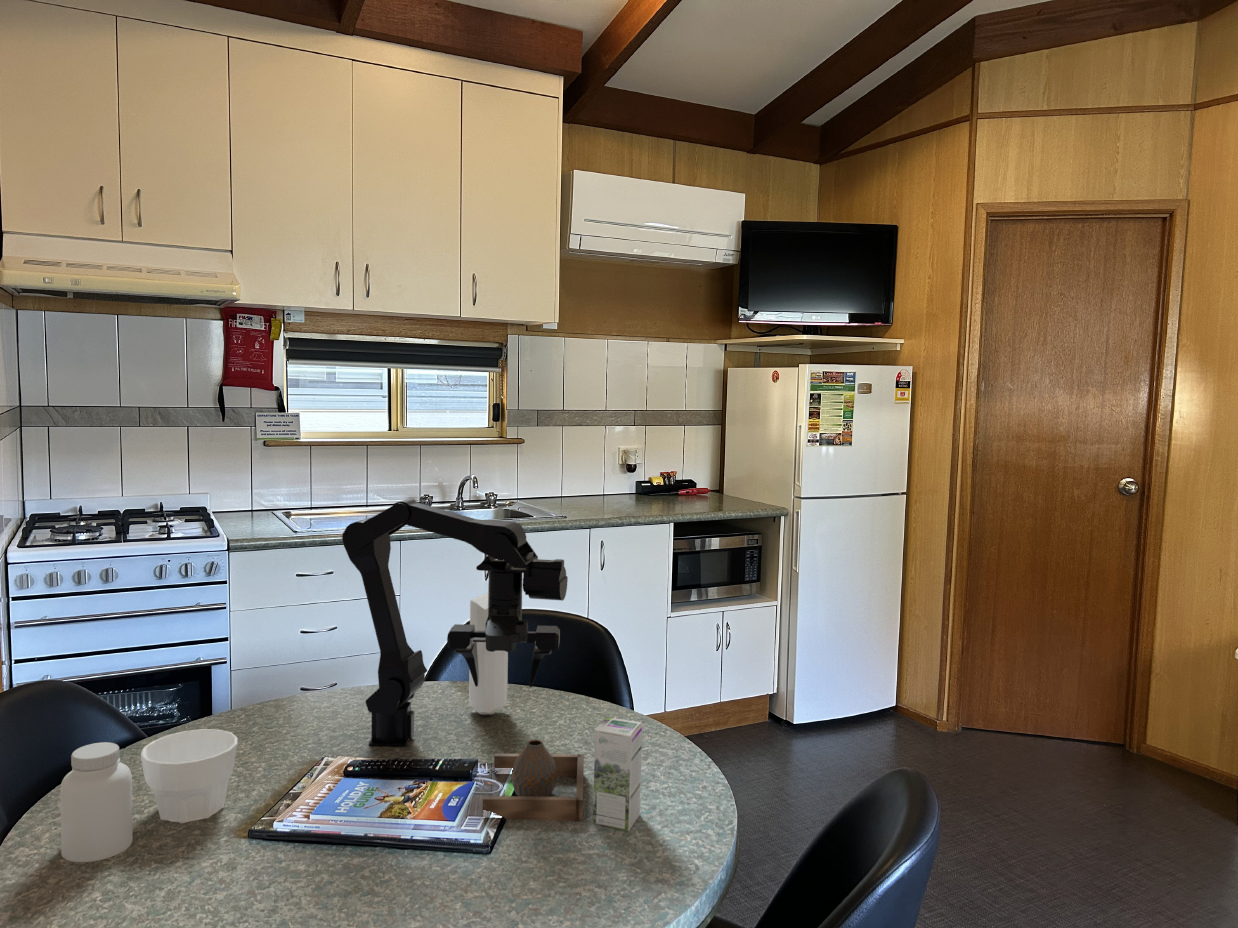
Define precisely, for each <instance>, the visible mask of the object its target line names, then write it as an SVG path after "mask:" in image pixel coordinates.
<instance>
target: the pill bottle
mask: <svg viewBox="0 0 1238 928" xmlns="http://www.w3.org/2000/svg"><path fill="white" fill-rule="evenodd" d="M70 758H71V759H70V760H71V761H70V762H71V768H72V769H71V771H70V772H68V773H67V774H66V775H65V776H64V778H62V781H61V784H60V790H59V791H60V794H59V796H60V798H59V799H60V843H61V844H60V846H61V848H60V849H61V850H60V851H61V853H60V854H61V857H62V858H63V859H65V860H66V861H69V862H73V863H91V862H96V861H97V862H98V861H101V860H105V859H109V858H111V857H112V858H113V857H114V856H117V855H119V854H122V852H124V851H126V850H127V849H128V848H129V847H131V845H132V843H133V775H132V772H131V769H130V768H129V766H128V765H126V764H125V763H122V762H121V758H120V746H119V745H118V744H116V743H115V742H106V741H105V742H96V743H90V744H86V745H84V746H80V747H79V748H76V749H75V750H74V751H72V754H71V756H70Z"/></svg>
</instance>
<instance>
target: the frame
mask: <svg viewBox="0 0 1238 928" xmlns="http://www.w3.org/2000/svg"><path fill="white" fill-rule="evenodd" d="M550 754H551V756H552V757H553V759H554V761H555V764H556V769H557V778H558V777H559V778H576V793H575V794H576V796H549V797H530V796H518V795H515V796H514V795H512V796H511V795H508V796H507V795H506V796H502V795H498V796H497V795H492V796H491V795H483V796H482V811H483V810H486V811H491V812H493V813H496V814H497V815H500V816H503V817H504V818H505V819H504V820H519V821H520V820H525V821H526V820H527V821H528V820H529V821H551V822H552V821H554V822H555V821H556V822H583V821H584V819H583V816H584V815H583V811H584V809H583V808H584V773H585V771H584V770H585V769H584V768H585V767H584V766H585V763H584V762H585V761H584V760H585V754H581V753H580V754H578V753H577V754H573V753H571V754H569V753H568V754H567V753H564V754H563V753H561V754H558V753H550ZM519 755H520V753H494V756H493V768H494V767H495V768H513V766H514V763H515V761H516V759H517V757H518V756H519Z"/></svg>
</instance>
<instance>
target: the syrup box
mask: <svg viewBox="0 0 1238 928" xmlns="http://www.w3.org/2000/svg"><path fill="white" fill-rule="evenodd" d="M593 750H594V753H593V754H594V755H593V757H594V758H593V794H592V795H593V797H592V798H593V799H592V800H593V802H592V805H593V806H592V824H593V825H598V826H602V827H607V828H612V829H616V830H621V831H626V832H629V831H630V830H631V828H632V827H633V826H634V824H635V822H636V821H637V819H638V818H639V817H640V816H641V815H640V814H641V783H642V782H641V779H642V774H641V773H642V755H643V754H642V751H643V722H641V721H640V722H639V721H635V720H628V719H621V718H615V717H605V719H603V720H602V721H601V722H600V723H599V724H598V725H597V727H596V728H595V729H594V749H593Z"/></svg>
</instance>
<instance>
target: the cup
mask: <svg viewBox="0 0 1238 928" xmlns="http://www.w3.org/2000/svg"><path fill="white" fill-rule="evenodd" d="M238 740H239V738H238V737H237V736H236V735H235V734H233V732H231V731H227V730H222V729H211V728H209V729H208V728H201V729H192V730H191V729H190V730H184V731H179V732H176V733H175V732H174V733H171V734H166V735H164V736H162V737H160V738H158V739H157V738H156V739H154V740H152V741H151V742H150V743H148V744H147V745H145V746H144V747H143V748H142V750H141V753H140V759H141V766H142V769H143V775H144V780H145V783H146V785H148V787H149V788H150V789H151V791H152V792H153V794H154V797H155V802H156V807H157V811H158V815H159V819H160V821H168V822H172V823H173V822H174V823H179V824H185V823H188V822H194V821H199V820H204V819H209V818H210V817H211V816H213V815H214V814H216V813H218V812H219V811H220V810H222V809H224V808H225V802H226V799H227V798H226V795H227V791H228V788H229V787H228V786H229V780H230V778H231V777H232V774H233V772H234V770H235V769H234V768H235V762H236V756H237V749H238Z"/></svg>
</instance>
